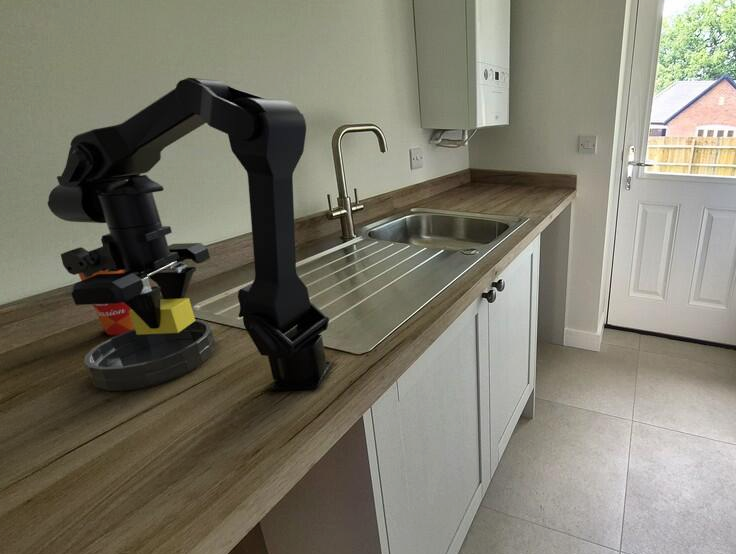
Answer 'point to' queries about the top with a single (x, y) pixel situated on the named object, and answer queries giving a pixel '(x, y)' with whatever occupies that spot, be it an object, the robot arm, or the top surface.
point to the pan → (148, 357)
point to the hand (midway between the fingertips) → (165, 321)
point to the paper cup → (113, 312)
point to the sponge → (167, 317)
